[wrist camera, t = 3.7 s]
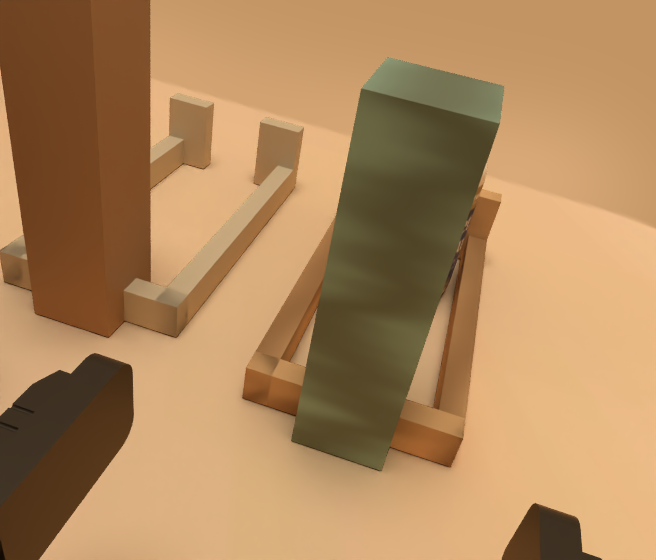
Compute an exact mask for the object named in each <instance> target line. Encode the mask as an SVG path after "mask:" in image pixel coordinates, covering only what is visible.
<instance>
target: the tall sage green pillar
mask: <svg viewBox="0 0 656 560" xmlns="http://www.w3.org/2000/svg"><path fill="white" fill-rule="evenodd" d="M503 93H504V86H502V85H498V84H493V83H490V82H486V81H482V80H478V79H473V78H469V77H466V76H461V75H457V74H453V73H449V72H445V71H441V70H437V69H432V68H429V67H425V66H421V65H417V64H413V63H409V62H405V61H401V60H397V59H392V58H389V57H388V58H387V59H386V60H385V61H384V62H383V63H382V65H381V66H380V67H379V68H378V69H377V70H376V72H375V73H374V74H373V75H372V76H371V78H370V79H369V80H368V81H367V82H366V84H365V85H364V86H363V87H362V89H361V93H360V98H359V103H358V108H357V113H356V118H355V123H354V128H353V133H352V138H351V143H350V148H349V153H348V158H347V163H346V168H345V173H344V178H343V183H342V188H341V193H340V198H339V203H338V208H337V213H336V217H335V219H334V220H333V222H332V224H331V225H330V227H329V229H328V230H327V232H326V234H325V235H324V237H323V239H322V240H321V242H320V244H319V246H318V247H317V249H316V251H315V252H314V254H313V256H312V257H311V259H310V261H309V262H308V264H307V266H306V267H305V269H304V271H303V273H302V274H301V276H300V278H299V279H298V281H297V283H296V284H295V286H294V288H293V289H292V291H291V293H290V294H289V296H288V298H287V300H286V301H285V303H284V305H283V306H282V308H281V310H280V311H279V313H278V315H277V316H276V318H275V320H274V322H273V323H272V325H271V327H270V328H269V330H268V332H267V333H266V335H265V337H264V338H263V340H262V342H261V343H260V345H259V347H258V349H257V350H256V352H255V354H254V355H253V357H252V359H251V360H250V362H249V364H248V365H247V367H246V373H245V381H244V390H243V398H245V399H248V400H251V401H254V402H257V403H260V404H263V405H266V406H269V407H272V408H275V409H278V410H281V411H284V412H287V413H290V414H293V415H296V420H295V425H294V430H293V435H292V440H291V441H294V442H297V443H300V444H303V445H306V446H309V447H312V448H315V449H318V450H321V451H324V452H326V453H329V454H332V455H335V456H338V457H341V458H344V459H347V460H350V461H353V462H356V463H359V464H362V465H365V466H368V467H371V468H374V469H377V470H379V471H381V470H382V467H383V465H384V462H385V459H386V456H387V453H388V450H389V447H392V448H395V449H398V450H401V451H404V452H407V453H410V454H413V455H416V456H419V457H422V458H425V459H428V460H431V461H434V462H437V463H440V464H443V465H446V466H449V467H451V465H452V463H453V460H454V458H455V456H456V454H457V451H458V449H459V447H460V444H461V442H462V440H463V436H464V427H465V419H466V410H467V402H468V394H469V385H470V377H471V368H472V360H473V352H474V343H475V335H476V326H477V318H478V310H479V301H480V293H481V284H482V276H483V268H484V259H485V251H486V242H487V238H488V236H489V233H490V230H491V227H492V225H493V222H494V219H495V217H496V214H497V211H498V209H499V206H500V203H501V195H502V194H498V193H494V192H490V191H487V190H483V189H482V190H481V193H480V196H479V198H478V201H477V204H476V207H475V210H474V213H473V216H472V218H471V221H470V224H469V227H468V230H467V233H466V236H465V239H464V241H463V244H462V247H461V250H460V253H459V256H458V259H461V260H460V266H459V271H458V276H457V282H456V287H455V293H454V298H453V304H452V309H451V315H450V320H449V325H448V331H447V336H446V342H445V347H444V353H443V358H442V364H441V369H440V374H439V380H438V385H437V391H436V396H435V402H434V407H433V408H431V407H428V406H425V405H422V404H419V403H416V402H413V401H410V400H406V397H407V394H408V391H409V388H410V385H411V382H412V380H413V377H414V374H415V371H416V368H417V365H418V362H419V359H420V356H421V353H422V350H423V347H424V344H425V341H426V338H427V336H428V333H429V330H430V327H431V324H432V321H433V318H434V315H435V312H436V309H437V306H438V303H439V300H440V297H441V295H442V292H443V289H444V286H445V283H446V280H447V277H448V274H449V271H450V268H451V265H452V262H453V259H454V256H455V253H456V251H457V248H458V245H459V242H460V239H461V236H462V233H463V230H464V227H465V224H466V221H467V218H468V215H469V212H470V209H471V207H472V204H473V201H474V198H475V195H476V192H477V189H478V186H479V183H480V180H481V177H482V174H483V171H484V168H485V166H486V163H487V159H488V157H489V154H490V151H491V148H492V145H493V142H494V139H495V136H496V133H497V130H498V127H499V124H500V118H501V110H502V101H503ZM317 306H318V309H317V314H316V319H315V324H314V329H313V334H312V339H311V344H310V349H309V354H308V359H307V364H306V367H304V366H301V365H298V364H295V363H291V362H289V361H290V359H291V357H292V355H293V353H294V351H295V350H296V348H297V346H298V344H299V342H300V340H301V338H302V336H303V334H304V332H305V330H306V328H307V326H308V324H309V322H310V320H311V318H312V316H313V314H314V312H315V310H316V308H317Z"/></svg>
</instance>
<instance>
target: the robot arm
mask: <svg viewBox="0 0 656 560" xmlns="http://www.w3.org/2000/svg"><path fill="white" fill-rule="evenodd" d="M133 417H134V409H133V372H132V367H131V366H130V365H129V364H126V363H123V362H120V361H117V360H114V359H111V358H108V357H105V356H102V355H100V354H96V353H94V354H91V355H89V356H88V357H87V358H86V359H85V360H84V361H83V362H82V363H81V364H80V365H79V366H78V367H77V368H76V369H75V370H74V371H73V372H72V373H71V374H70V373H67V372H64V371H61V370H58V371H57V372H55V373H53V374H51V375H49V376H47V377H45V378H43V379H41V380H39V381H37V382H36V383H34V384H32V385H31V386H30V387H29V388H28V389H27V390H26V391H25V392H24V393H23V394H22V395H21V396H20V397H19V398H18V399H17V400H16V401H15V402H14V403H13V405H12V407H11V408H8V409H7V410H6V411H5V412H4V413H3V414H2V415H1V416H0V560H39V559H40V557H41V556H42V555H43V553H44V552H45V551H46V549H47V548H48V546H49V545H50V544H51V542H52V541H53V540H54V538H55V537H56V536H57V534H58V533H59V531H60V530H61V529H62V527H63V526H64V525H65V523H66V522H67V521H68V519H69V518H70V517H71V515H72V514H73V512H74V511H75V510H76V508H77V507H78V506H79V504H80V503H81V502H82V500H83V499H84V498H85V496H86V495H87V493H88V492H89V491H90V489H91V488H92V487H93V485H94V484H95V483H96V481H97V480H98V478H99V477H100V476H101V474H102V473H103V472H104V470H105V469H106V468H107V466H108V465H109V464H110V462H111V461H112V459H113V458H114V457H115V455H116V454H117V453H118V451H119V450H120V449H121V447H122V446H123V444H124V443H125V441H126V439H127V437H128V435H129V432H130V430H131V427H132V423H133ZM502 560H602V559H601V558H598V557H595V556H593V555H590V554H587V553H584V552H582V542H581V529H580V523H579V520H578V519H577V517H575V516H572V515H569V514H566V513H563V512H560V511H557V510H554V509H551V508H548V507H545V506H542V505H539V504H536V503H535V504H533V505H532V506H531V507H530V509H529V510H528V512H527V514H526V515H525V517H524V519H523V520H522V522H521V524H520V525H519V527H518V529H517V530H516V532H515V534H514V535H513V537H512V539H511V540H510V542H509V544H508V545H507V547H506V549H505V551H504V554H503V557H502Z"/></svg>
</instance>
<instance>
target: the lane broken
mask: <svg viewBox="0 0 656 560" xmlns="http://www.w3.org/2000/svg"><path fill="white" fill-rule="evenodd" d="M0 69H1V76H2V83H3V90H4V97H5V105H6V112H7V119H8V126H9V133H10V140H11V147H12V154H13V161H14V169H15V176H16V183H17V190H18V197H19V204H20V211H21V218H22V225H23V233H24V234H23V235H22V236H20V237H19V238H17V239H16V240H15V241H13V242H12V243H10V244H9V245H7V246H6V247H4V248H3V249H1V250H0V260H1V266H2V272H3V277H4V282H7V283H10V284H13V285H16V286H19V287H22V288H26V289H29V290H32V296H33V304H34V311H35V313H36V314H39V315H42V316H45V317H48V318H51V319H54V320H57V321H60V322H63V323H66V324H69V325H72V326H76V327H79V328H82V329H85V330H88V331H91V332H94V333H97V334H100V335H103V336H106V337H110V335H111V334H112V333H113V332H114V331H115V330H116V329H117V328H118V327H119V326H120V325H121V324H122V323H123V322H124V321H127V322H130V323H133V324H136V325H140V326H143V327H146V328H149V329H152V330H155V331H158V332H161V333H164V334H167V335H170V336H173V337H177V336H178V335H179V333H180V332H181V331H182V330H183V328H184V327H185V326H186V325H187V323H188V322H189V321H190V319H191V318H192V317H193V316H194V314H195V313H196V312H197V311H198V309H199V308H200V307H201V306H202V304H203V303H204V302H205V300H206V299H207V298H208V297H209V295H210V294H211V293H212V292H213V290H214V289H215V288H216V287H217V285H218V284H219V283H220V281H221V280H222V279H223V278H224V276H225V275H226V274H227V273H228V271H229V270H230V269H231V268H232V266H233V265H234V264H235V262H236V261H237V260H238V259H239V257H240V256H241V255H242V254H243V252H244V251H245V250H246V249H247V247H248V246H249V245H250V243H251V242H252V241H253V240H254V238H255V237H256V236H257V235H258V233H259V232H260V231H261V230H262V228H263V227H264V226H265V224H266V223H267V222H268V221H269V219H270V218H271V217H272V216H273V214H274V213H275V212H276V211H277V209H278V208H279V207H280V205H281V204H282V203H283V202H284V200H285V199H286V198H287V197H288V195H289V194H290V193H291V191H292V190H293V189H294V188H295V184H296V177H297V170H298V164H299V157H300V150H301V144H302V137H303V130H304V127H302V126H298V125H294V124H291V123H287V122H283V121H279V120H276V119H272V118H268V117H266V118H264V119H263V120H262V121H261V122H260V130H259V139H258V148H257V158H256V167H255V177H254V183H255V184H258V185H260V186H259V187H258V188H257V189H256V190H255V191H254V192H253V193H252V194H251V196H250V197H249V198H248V199H247V200H246V201H245V202H244V203H243V204H242V205H241V207H240V208H239V209H238V210H237V211H236V212H235V213H234V214H233V215H232V216H231V217H230V219H229V220H228V221H227V222H226V223H225V224H224V225H223V226H222V227H221V228H220V230H219V231H218V232H217V233H216V234H215V235H214V236H213V237H212V238H211V239H210V240H209V242H208V243H207V244H206V245H205V246H204V247H203V248H202V249H201V250H200V251H199V253H198V254H197V255H196V256H195V257H194V258H193V259H192V260H191V261H190V262H189V263H188V265H187V266H186V267H185V268H184V269H183V270H182V271H181V272H180V273H179V274H178V276H177V277H176V278H175V279H174V280H173V281H172V282H171V283H170V284H169V285H168V286H167V288H166V287H163V286H160V285H157V284H154V283H151V243H150V189H151V188H152V187H154V186H155V185H156V184H157V183H159V182H160V181H161V180H162V179H164V178H165V177H166V176H168V175H169V174H170V173H171V172H173V171H174V170H175V169H176V168H178V167H179V166H180V165H182V164H183V163H184V164H188V165H191V166H195V167H199V168H202V169H204V168H205V167H206V166H208V165H209V164H210V160H211V143H212V126H213V109H214V103H212V102H208V101H205V100H201V99H197V98H193V97H190V96H186V95H182V94H178V93H177V94H176V95H174V96H172V97H170V119H169V136H168V137H166V138H165V139H163V140H162V141H160V142H159V143H157V144H156V145H154V146H153V147H151V148H150V0H0Z"/></svg>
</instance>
